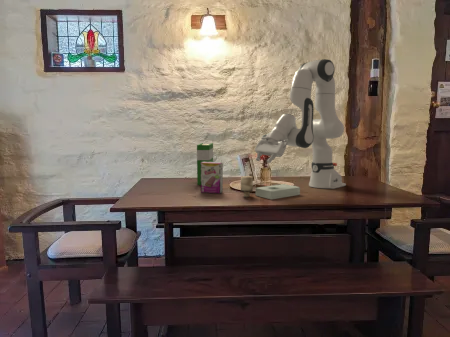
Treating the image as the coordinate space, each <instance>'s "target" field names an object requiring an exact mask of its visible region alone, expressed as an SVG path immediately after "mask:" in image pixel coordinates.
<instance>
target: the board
mask: <svg viewBox="0 0 450 337" xmlns="http://www.w3.org/2000/svg"><path fill="white" fill-rule="evenodd" d="M300 195H301V187H300V186H296V185H290V184H286V183H281V184H280V183H279V184H275V185H274V184H273V185H267V186H260V187H255V196H257V197H260V198H264V199H268V200H276V199H282V198H287V197H288V198H289V197H293V196H294V197H295V196H300Z"/></svg>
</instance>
